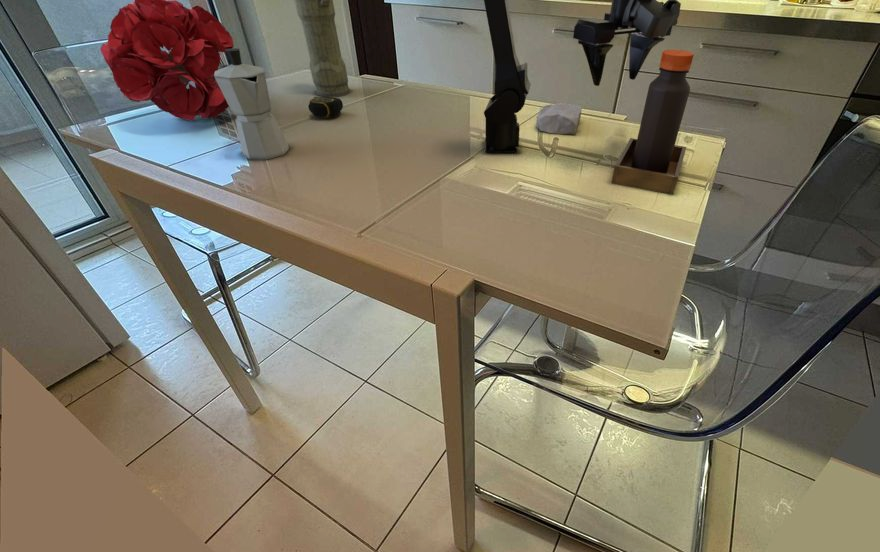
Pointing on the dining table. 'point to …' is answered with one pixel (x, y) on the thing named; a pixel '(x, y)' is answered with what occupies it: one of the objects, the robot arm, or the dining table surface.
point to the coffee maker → (251, 108)
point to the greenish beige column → (323, 47)
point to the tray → (644, 177)
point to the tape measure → (325, 106)
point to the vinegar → (663, 112)
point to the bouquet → (168, 57)
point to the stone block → (559, 118)
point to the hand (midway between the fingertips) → (614, 82)
